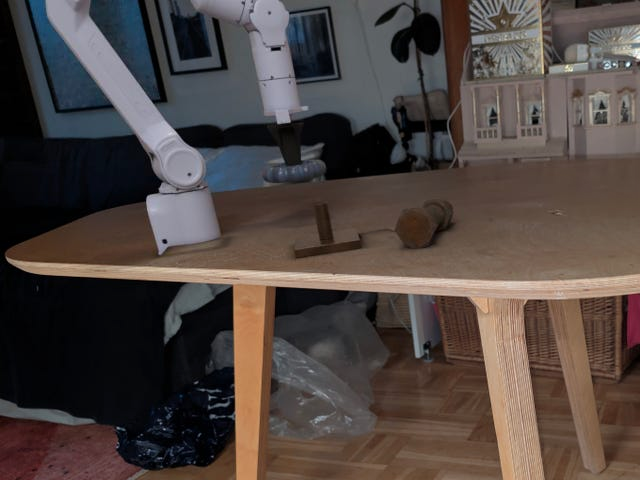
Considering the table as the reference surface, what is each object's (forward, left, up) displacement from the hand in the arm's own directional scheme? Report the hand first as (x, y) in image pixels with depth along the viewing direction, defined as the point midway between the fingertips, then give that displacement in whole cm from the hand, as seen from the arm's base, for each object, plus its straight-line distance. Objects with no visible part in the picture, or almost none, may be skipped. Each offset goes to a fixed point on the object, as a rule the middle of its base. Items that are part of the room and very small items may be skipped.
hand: (294, 167), depth 116 cm
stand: (+3, -21, -9) cm, 23 cm away
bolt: (+18, -24, -10) cm, 31 cm away
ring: (0, -4, 0) cm, 4 cm away
